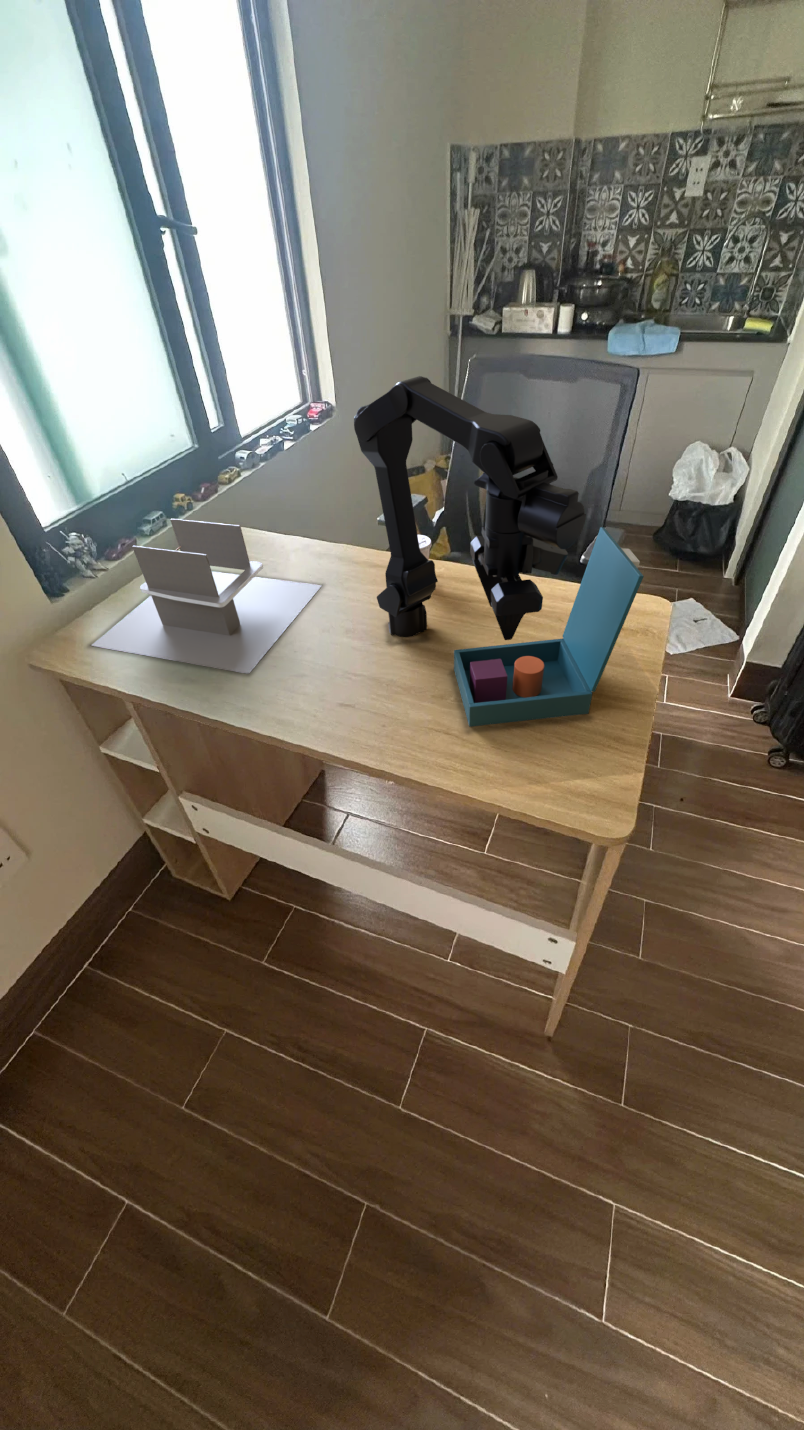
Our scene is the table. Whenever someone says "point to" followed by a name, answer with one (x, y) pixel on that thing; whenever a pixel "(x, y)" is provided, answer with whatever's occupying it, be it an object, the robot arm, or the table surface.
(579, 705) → the box
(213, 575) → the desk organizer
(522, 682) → the orange cylinder
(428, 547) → the smoothie
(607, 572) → the lunchbox lid
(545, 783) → the table surface
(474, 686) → the purple cube
